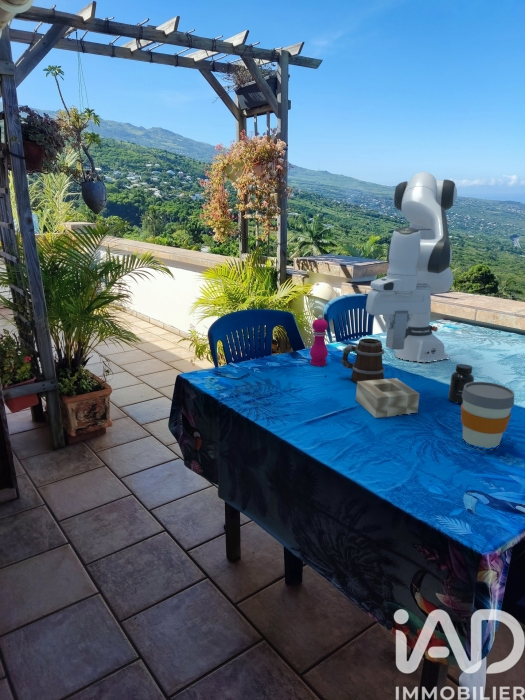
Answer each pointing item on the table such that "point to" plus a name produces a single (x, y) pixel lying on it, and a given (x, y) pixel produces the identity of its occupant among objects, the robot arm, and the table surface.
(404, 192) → the robot arm
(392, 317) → the grey rectangular bar
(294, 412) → the table surface
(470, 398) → the reusable coffee cup
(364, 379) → the mug
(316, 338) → the pepper mill
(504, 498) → the table surface
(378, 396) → the well block
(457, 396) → the supplement bottle
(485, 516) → the table surface
